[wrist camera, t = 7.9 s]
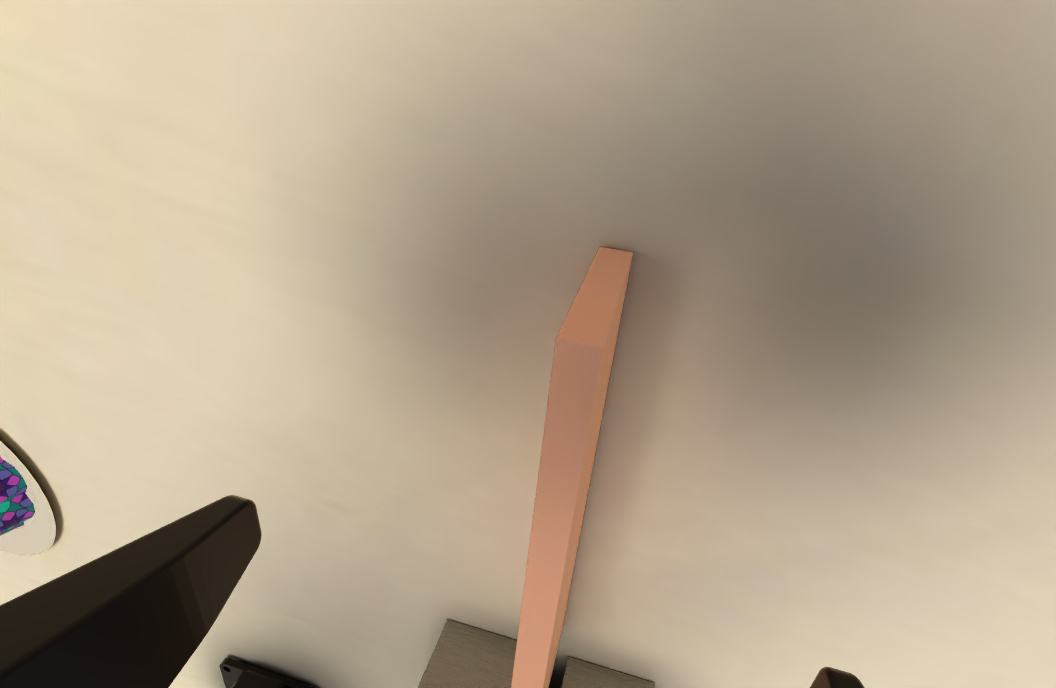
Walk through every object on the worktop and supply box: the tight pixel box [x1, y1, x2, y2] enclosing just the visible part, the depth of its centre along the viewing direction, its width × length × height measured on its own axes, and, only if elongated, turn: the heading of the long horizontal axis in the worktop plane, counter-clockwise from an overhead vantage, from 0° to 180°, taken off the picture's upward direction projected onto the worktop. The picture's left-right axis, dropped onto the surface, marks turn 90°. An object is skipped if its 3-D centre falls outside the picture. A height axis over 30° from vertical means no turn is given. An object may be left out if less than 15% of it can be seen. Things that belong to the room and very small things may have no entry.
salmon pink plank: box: [511, 247, 633, 688], centre depth 19 cm, size 18×1×6 cm, turn 175°
